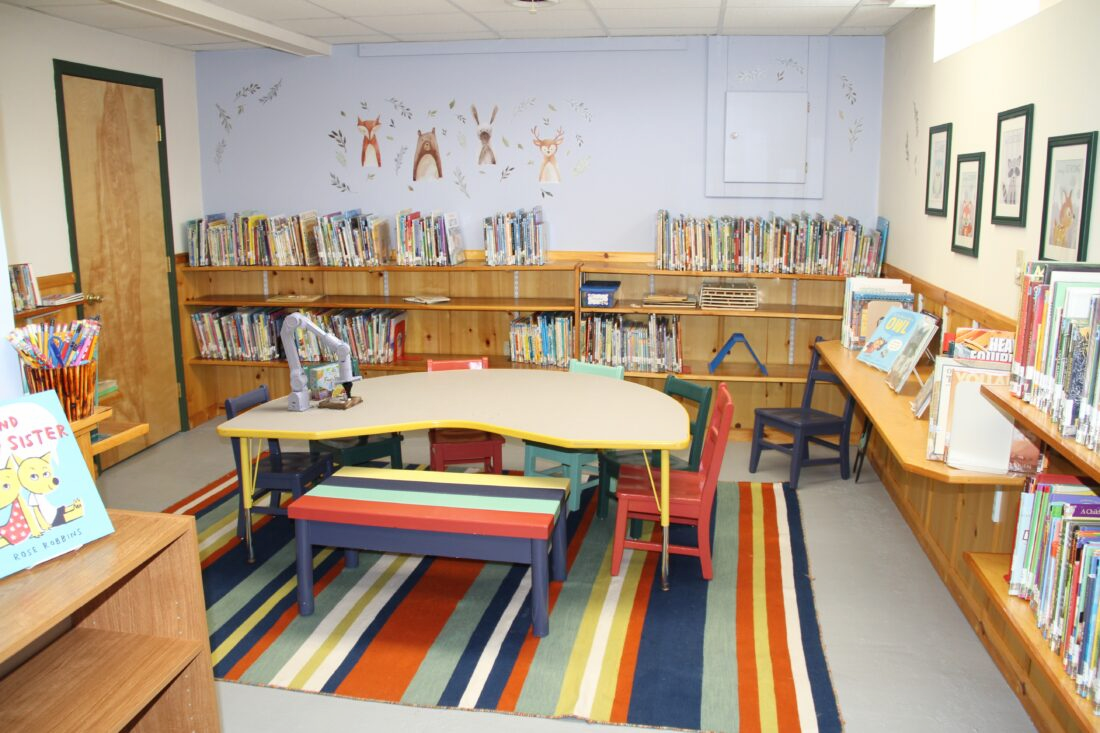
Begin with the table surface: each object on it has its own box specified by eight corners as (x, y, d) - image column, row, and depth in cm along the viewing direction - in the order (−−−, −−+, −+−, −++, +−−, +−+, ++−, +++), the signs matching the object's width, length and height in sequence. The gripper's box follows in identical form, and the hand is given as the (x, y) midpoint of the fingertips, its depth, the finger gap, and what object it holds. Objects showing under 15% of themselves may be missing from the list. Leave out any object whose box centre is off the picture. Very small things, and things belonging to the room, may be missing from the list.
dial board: (345, 409, 397) (345, 403, 397) (317, 408, 402) (317, 402, 402) (363, 401, 411) (362, 396, 411) (335, 400, 416) (335, 394, 415)
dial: (325, 402, 406) (324, 394, 405) (343, 398, 413) (342, 389, 412) (338, 405, 399) (337, 397, 398) (356, 401, 406) (355, 392, 405)
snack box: (319, 401, 416) (316, 370, 413) (311, 399, 419) (308, 369, 416) (352, 391, 433) (349, 361, 430) (344, 390, 436) (341, 361, 433)
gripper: (333, 373, 393) (336, 402, 396) (363, 367, 401) (366, 396, 404) (327, 371, 399) (331, 400, 402) (357, 365, 407) (360, 394, 410)
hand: (348, 398), depth 403 cm, fingers closed, pressing on dial
